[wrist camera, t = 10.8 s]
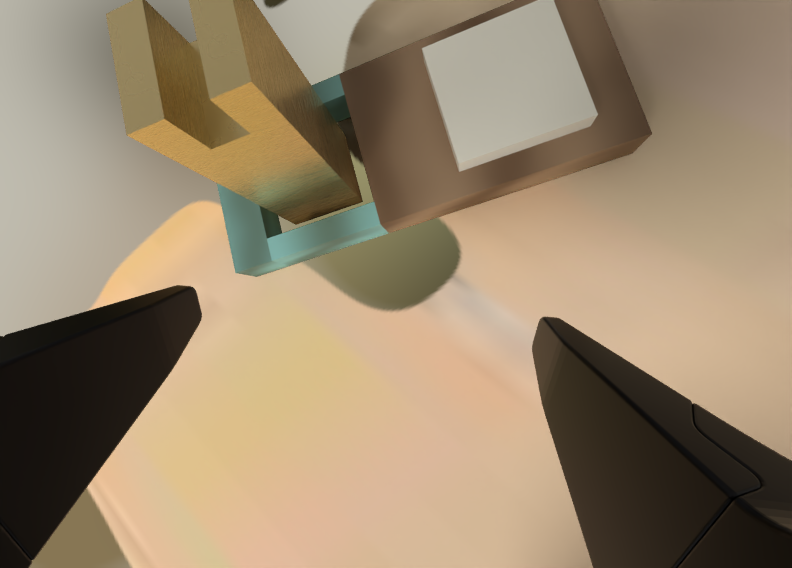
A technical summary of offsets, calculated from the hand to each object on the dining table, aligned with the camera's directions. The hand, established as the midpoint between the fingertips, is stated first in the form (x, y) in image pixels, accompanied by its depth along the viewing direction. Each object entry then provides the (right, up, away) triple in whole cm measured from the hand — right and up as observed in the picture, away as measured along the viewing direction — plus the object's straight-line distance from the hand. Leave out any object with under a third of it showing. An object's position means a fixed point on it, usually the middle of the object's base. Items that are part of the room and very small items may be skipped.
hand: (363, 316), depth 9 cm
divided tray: (+1, +9, +11) cm, 15 cm away
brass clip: (-4, +7, +12) cm, 15 cm away
